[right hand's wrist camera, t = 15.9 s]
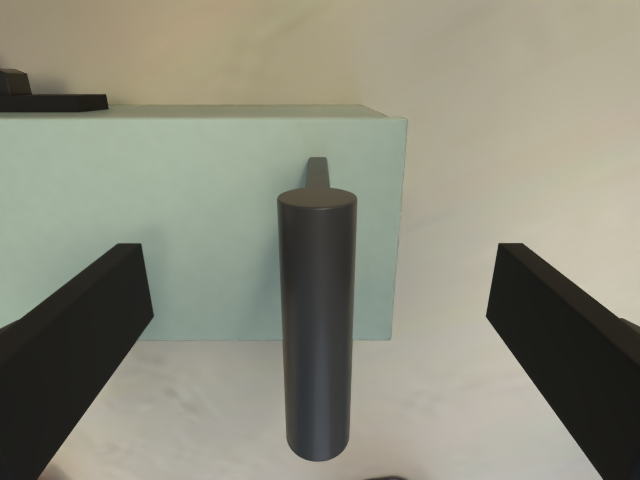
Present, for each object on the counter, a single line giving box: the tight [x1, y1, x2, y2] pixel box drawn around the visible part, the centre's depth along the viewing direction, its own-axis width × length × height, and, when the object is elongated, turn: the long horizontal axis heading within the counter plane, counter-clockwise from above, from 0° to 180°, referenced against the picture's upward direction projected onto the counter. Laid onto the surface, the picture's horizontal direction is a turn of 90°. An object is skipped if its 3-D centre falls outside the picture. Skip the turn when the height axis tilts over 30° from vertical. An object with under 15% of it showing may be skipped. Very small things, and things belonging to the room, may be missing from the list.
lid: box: [0, 117, 408, 462], centre depth 13 cm, size 18×10×8 cm, turn 90°
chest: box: [0, 105, 388, 117], centre depth 22 cm, size 18×10×11 cm, turn 90°
